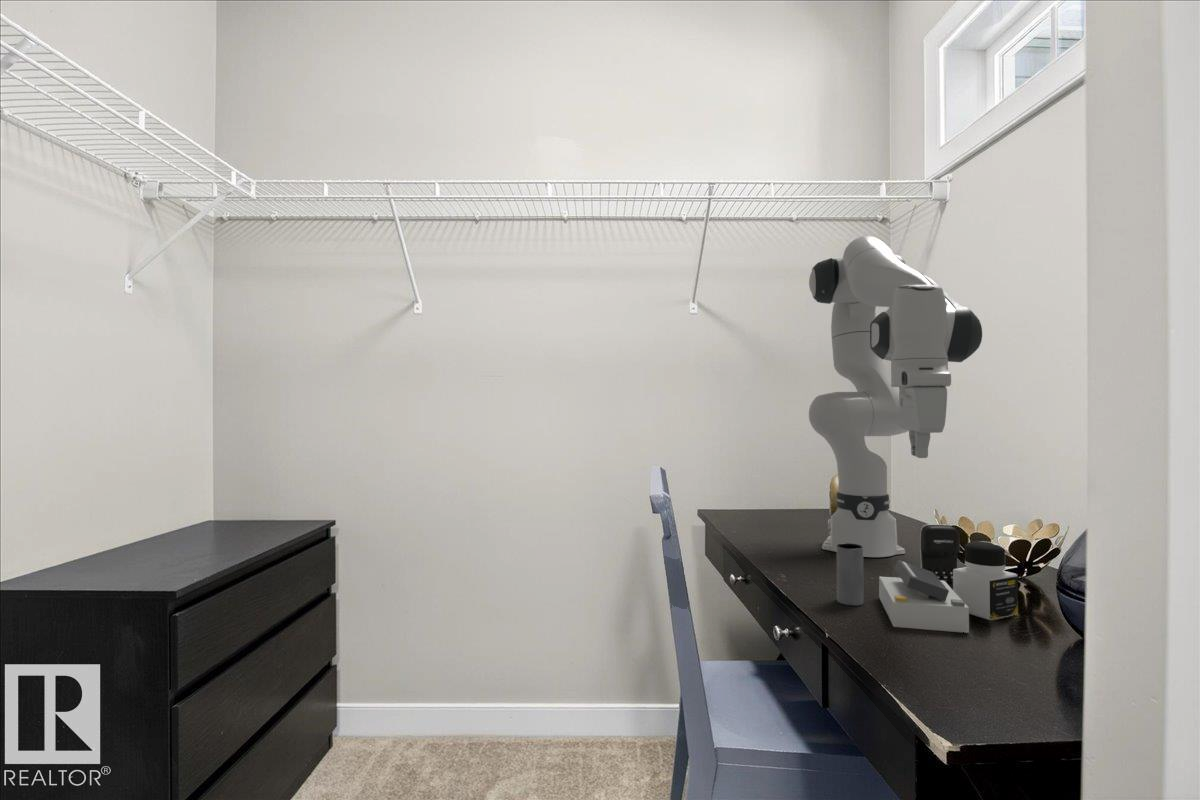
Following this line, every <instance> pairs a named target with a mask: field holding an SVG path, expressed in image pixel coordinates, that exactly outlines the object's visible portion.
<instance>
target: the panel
mask: <svg viewBox="0 0 1200 800" xmlns="http://www.w3.org/2000/svg"><path fill="white" fill-rule="evenodd" d="M878 580H879V581H878V584H879V585H878V587H879V590H878V592H879V593H878V594H879V600H880V602H881V604H882V607H883V608H884V610H885V612H886V614H887V616H888V619H889V621H890V623H891V625H892V626H893V628H904V629H905V628H906V629H917V630H926V631H927V630H929V631H930V630H931V631H941V632H954V633H963V632H964V633H967V634H970V614H969V607H968V606H967V605H966V604H965V603H964V602H963V601H962V600H961V598H960V597H959V596H958V595H957V594H956V593H955V592H954V591H953V588H952V587H951V586H950V585H949V584H948V582H945V581H943V580H940V581H941V582H942V583H943V585H944V586H945V587H946V588H947V589H948V590H949V592H948V595H947V598H946V601H944V600H941V599H938V598H935V597H933V596H930V595H927V594H924V593H922V592H919V591H916V590H913V589H911V588H908V587H907V586H906V585H905V583H904V582H903V581H902V579H901V578H900V577H895V576H894V577H892V576H880V575H879V576H878Z"/></svg>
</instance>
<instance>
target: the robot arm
mask: <svg viewBox="0 0 1200 800" xmlns="http://www.w3.org/2000/svg"><path fill="white" fill-rule="evenodd" d="M808 284H809V290H810V292H811V294H812V298H813V299H814V300H815V301H816V302H818V303H820V304H826V305H827V304H829V305H830V304H832V303H834V304H833V306H832V310H831V311H832V312H831V325H830V330H831V331H830V332H831V346H832V348H831V349H832V357H833V358H832V359H833V367H834V369H835V371H836V372H837V374H838V375H840V376H841V377H843V378H845V379H847V380H848V381H849V382H851V383H852V385H853V386H854V387H855V390H856V391H834V392H829V393H824V394H820V395H819V394H818V395H817V396H816V397H815V398H814V399H813V400H812V401H811V404H810V406H809V410H808V419H809V423H810V425H811V427H812V429H813V430H814V431H815V432H816V433H817V434H818V435H820V436H821V437H822V438H823V439H824V440H825V441H826V442H827V444H828V445H829V446H830V448H831V449H832V452H833V454H834V456H835V461H836V466H837V467H836V468H837V481H838V484H837V485H838V486H837V487H838V491H837V492H836V497H835V500H836V501H835V502H836V507H837V509H836V510H835V512H833V513H832V515H831V516H830V518H828V520H827V529H828V530H829V531H828V537H826V539H825V540H824V542H823V544H822V545H821V548H822V550H824V551H825V550H826V551H830V552H835V553H837V545H838V544H841V543H850V544H857V545H861V546H863V558H886V557H891V556H896V555H904V554H906V551H905V548H904V547H902V546H901V545H898V535H897V534H898V531H897V530H898V529H897V519H896V517H894V516H893V515H892V514H891V513H890V511H889V510H890V502H891V501H890V495H889V493H888V466H887V463H886V462H885V460H884V459H883V458H882V457H881V456H880V455H878V454H877V453H875V452H873V451H871V450H870V449H869V448H868V446H867V444H866V440H865V437H890V436H891V437H893V436H897V435H901V434H906V433H908V437H909V443H910V454H911V456H913V457H916V458H918V459H927V458H928V457H929V445H930V441H931V434H932V433H933V434H934V433H935V434H939V433H941V434H942V433H943V431H944V429H945V426H946V417H947V416H946V415H947V405H948V404H947V403H948V389H947V387H950V386H951V385H952V373H951V372H950V370H949V366H948V365H949V362H950V363H962V362H964V361H965V360H967V359H968V358H970V357H971V356H972V355H973V354H974V353H976V351H977V350H978V349H979V348H980V346H981V343H982V339H983V327H982V323H981V321H980V319H979V317H978V316H977V315H976V314H975V313H974V312H973V311H972V310H971V309H970V308H968V307H966V306H963V305H960V304H959V303H958V302H956V301H955V300H954V299H953V298H952V297H951V295H950V294H948V293H947V292H946V291H945V290H944V289H943V288H942V287H941V286H940V285H938V284H937V282H936V281H934V280H933V279H932V278H930V277H929V276H927V275H925V274H923V273H922V272H919V271H917V270H916V269H914V268H912V267H910V266H908V265H907V264H906V262H905V260H904V258H903V257H902V256H901V255H898V254H895V253H894V251H893V250H892V249H891V248H890V247H889V246H888V245H887V244H886V243H885V242H884V241H882V240H881V239H879V238H877V237H876V236H872V235H864V236H860V237H857V238H854V239H853V240H852V241H851V242H850V243H849V244H848V245H846V247H845V249H844V252H843V255H842V257H838V258H832V257H831V258H827V259H824V260H822V261H818V262H817V263H816V264H815V265H813V267H812V269H811V272H810V274H809V279H808ZM876 307H881V308H882V307H883V308H887V309H886V310H885V311H882V312H880V313H879V314H878V315H877V314H876ZM883 360H886V361H890V376H889V375H888V373H887V370H886V368H885V366H884V365H885V364H884V362H883Z"/></svg>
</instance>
